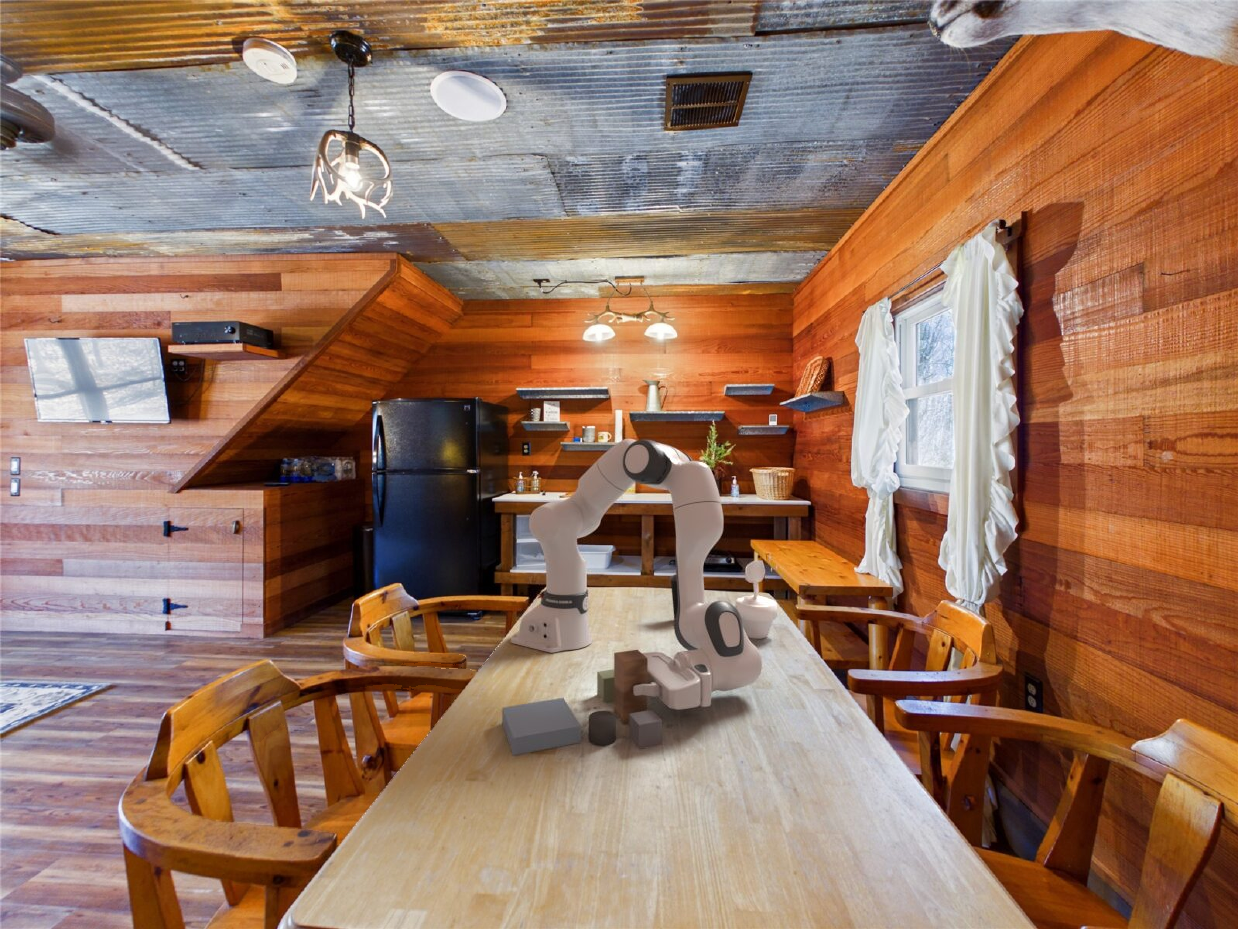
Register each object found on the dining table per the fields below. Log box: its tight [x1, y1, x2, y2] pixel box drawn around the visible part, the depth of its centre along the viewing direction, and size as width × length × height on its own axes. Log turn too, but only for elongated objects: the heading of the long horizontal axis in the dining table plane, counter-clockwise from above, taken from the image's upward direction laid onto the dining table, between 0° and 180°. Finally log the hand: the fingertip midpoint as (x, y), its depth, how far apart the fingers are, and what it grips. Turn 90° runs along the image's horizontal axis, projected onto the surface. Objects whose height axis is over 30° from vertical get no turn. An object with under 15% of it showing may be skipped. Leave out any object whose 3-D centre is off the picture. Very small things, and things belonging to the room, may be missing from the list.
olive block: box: [596, 668, 614, 704], centre depth 115 cm, size 4×4×5 cm
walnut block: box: [613, 649, 648, 725], centre depth 106 cm, size 5×5×12 cm
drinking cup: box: [669, 573, 678, 622], centre depth 168 cm, size 8×8×20 cm
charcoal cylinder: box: [587, 710, 617, 747], centre depth 98 cm, size 5×5×4 cm
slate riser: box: [501, 697, 582, 756], centre depth 100 cm, size 12×12×3 cm
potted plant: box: [734, 554, 779, 640], centre depth 155 cm, size 13×12×25 cm
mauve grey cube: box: [628, 709, 663, 750], centre depth 97 cm, size 4×4×4 cm
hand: (626, 683), depth 106 cm, fingers closed on walnut block, 5 cm apart
